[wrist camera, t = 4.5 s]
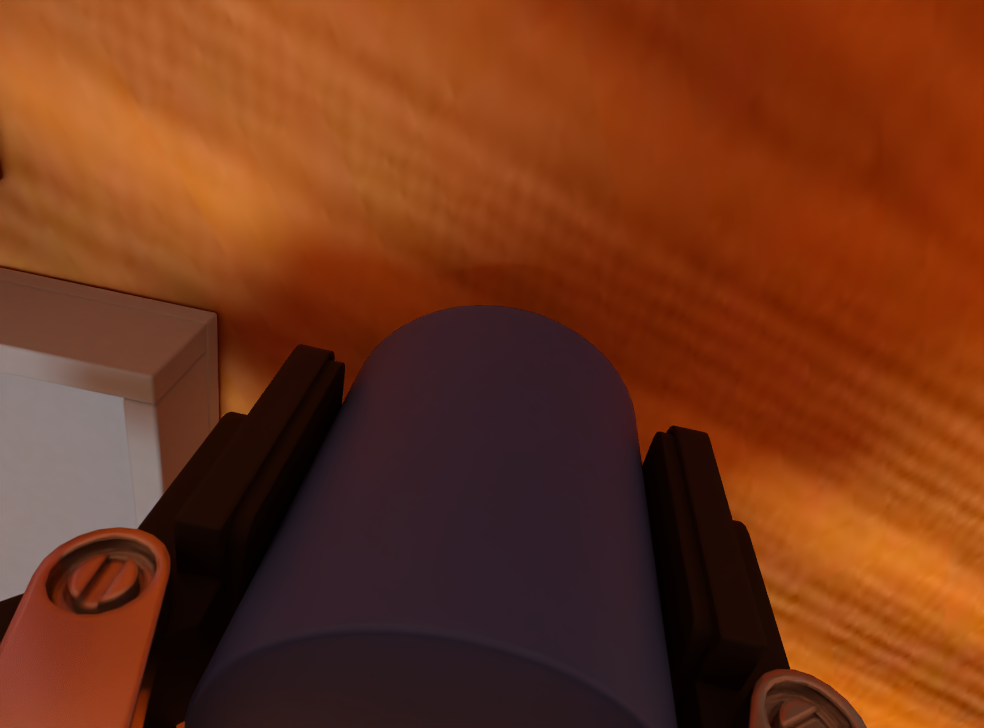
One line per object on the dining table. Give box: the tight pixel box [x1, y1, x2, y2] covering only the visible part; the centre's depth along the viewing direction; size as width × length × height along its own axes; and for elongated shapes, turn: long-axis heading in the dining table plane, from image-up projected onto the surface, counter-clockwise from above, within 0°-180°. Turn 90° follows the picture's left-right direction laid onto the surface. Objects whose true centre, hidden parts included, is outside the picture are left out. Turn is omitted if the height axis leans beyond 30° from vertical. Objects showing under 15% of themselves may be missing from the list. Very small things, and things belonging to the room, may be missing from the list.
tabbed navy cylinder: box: [185, 305, 678, 728], centre depth 10 cm, size 8×5×6 cm, turn 169°
